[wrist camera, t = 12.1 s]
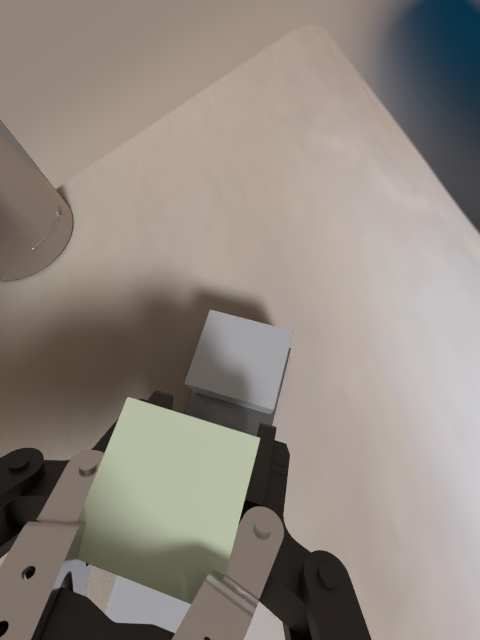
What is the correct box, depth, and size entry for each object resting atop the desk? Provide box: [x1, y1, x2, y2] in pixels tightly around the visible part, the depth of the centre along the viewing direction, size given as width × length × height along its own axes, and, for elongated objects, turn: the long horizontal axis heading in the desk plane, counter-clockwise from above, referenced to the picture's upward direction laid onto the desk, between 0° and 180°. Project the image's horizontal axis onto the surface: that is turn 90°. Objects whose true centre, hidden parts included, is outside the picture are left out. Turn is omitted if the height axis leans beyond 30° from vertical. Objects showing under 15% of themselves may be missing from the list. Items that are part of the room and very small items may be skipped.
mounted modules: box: [104, 310, 293, 633], centre depth 17 cm, size 5×16×4 cm, turn 164°
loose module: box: [78, 397, 260, 604], centre depth 13 cm, size 4×4×10 cm
